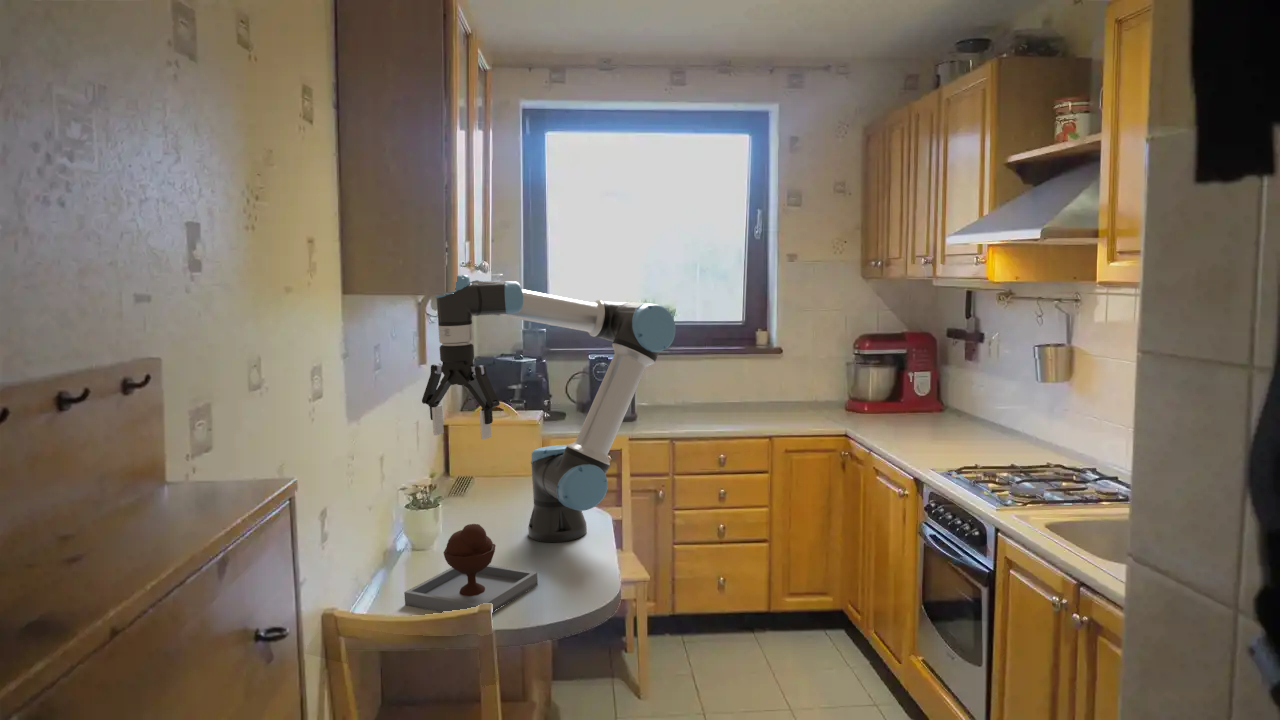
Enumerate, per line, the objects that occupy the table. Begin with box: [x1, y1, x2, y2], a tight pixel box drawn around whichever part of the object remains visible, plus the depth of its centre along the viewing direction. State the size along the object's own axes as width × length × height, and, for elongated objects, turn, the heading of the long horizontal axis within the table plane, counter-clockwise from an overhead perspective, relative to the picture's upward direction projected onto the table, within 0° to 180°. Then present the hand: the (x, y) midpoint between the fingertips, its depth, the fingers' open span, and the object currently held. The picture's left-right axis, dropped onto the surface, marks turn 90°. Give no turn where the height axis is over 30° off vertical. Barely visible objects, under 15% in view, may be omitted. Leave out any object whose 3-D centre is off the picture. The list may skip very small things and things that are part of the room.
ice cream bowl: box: [443, 523, 497, 596], centre depth 187 cm, size 11×11×15 cm
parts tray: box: [404, 564, 538, 613], centre depth 188 cm, size 20×20×3 cm
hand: (462, 436), depth 199 cm, fingers open, 13 cm apart
